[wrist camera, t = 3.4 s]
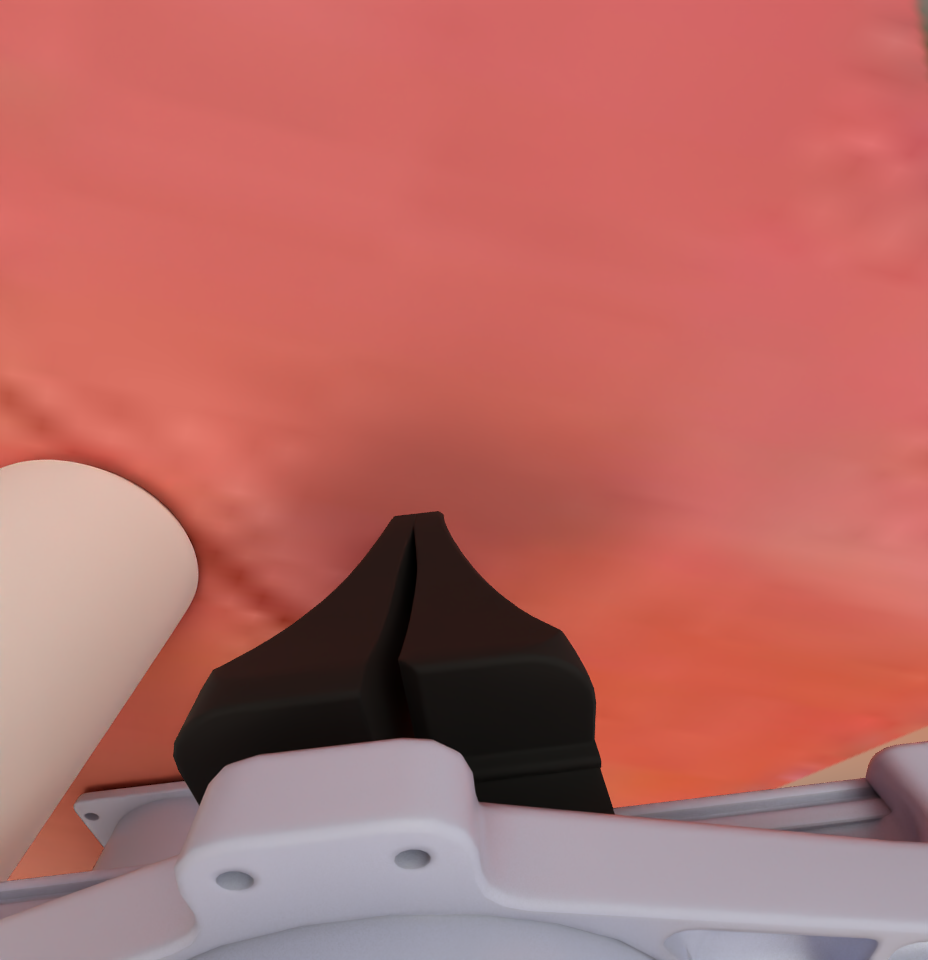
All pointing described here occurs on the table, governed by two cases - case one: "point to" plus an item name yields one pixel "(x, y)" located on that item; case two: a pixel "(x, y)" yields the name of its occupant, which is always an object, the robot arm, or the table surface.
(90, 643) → the can
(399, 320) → the table surface
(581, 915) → the robot arm
